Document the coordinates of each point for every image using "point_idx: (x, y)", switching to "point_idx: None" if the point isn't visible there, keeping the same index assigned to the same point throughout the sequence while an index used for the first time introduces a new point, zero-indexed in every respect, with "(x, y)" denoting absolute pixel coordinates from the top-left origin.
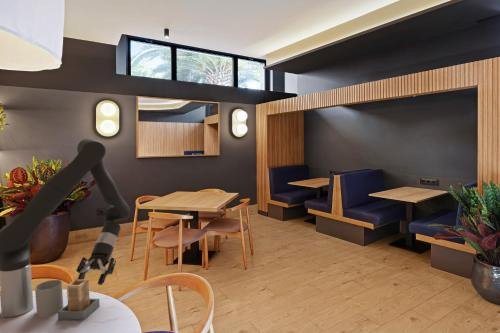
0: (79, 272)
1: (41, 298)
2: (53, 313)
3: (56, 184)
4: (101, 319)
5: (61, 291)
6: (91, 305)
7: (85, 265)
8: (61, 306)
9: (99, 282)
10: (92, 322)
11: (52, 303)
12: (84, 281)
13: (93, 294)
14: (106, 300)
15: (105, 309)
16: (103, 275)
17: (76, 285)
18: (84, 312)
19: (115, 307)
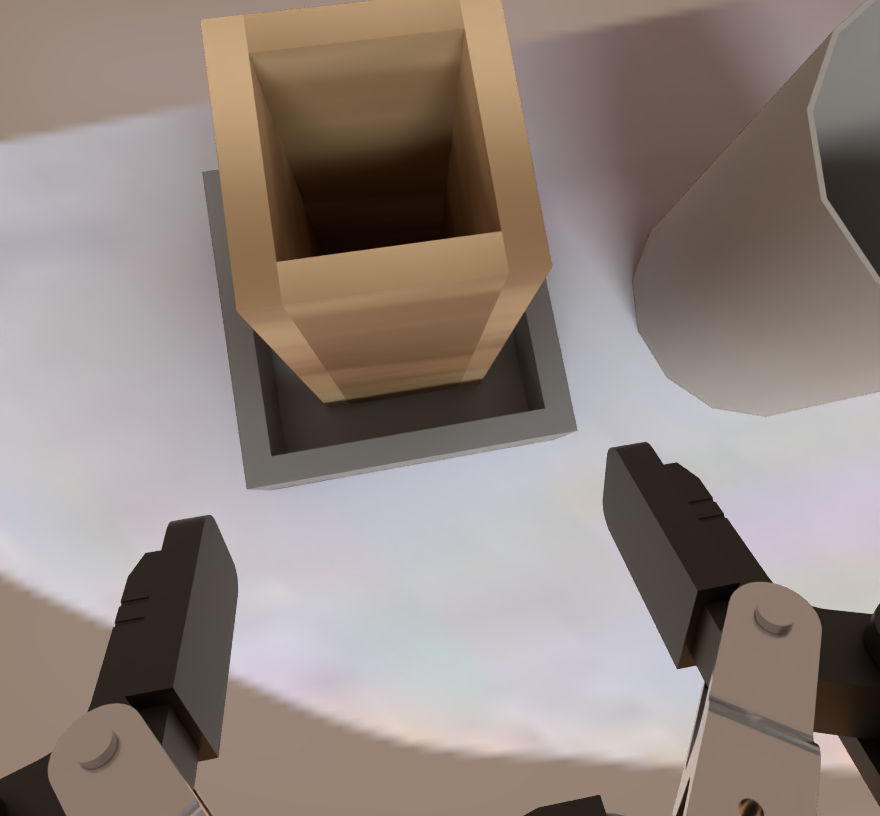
0: (820, 614)
1: (836, 66)
2: (647, 244)
3: None
4: (59, 277)
5: (757, 295)
6: (225, 327)
7: (818, 791)
8: (653, 324)
9: (170, 529)
10: (116, 214)
11: (696, 186)
12: (262, 217)
13: (569, 717)
14: (287, 628)
15: (153, 450)
16: (116, 684)
17: (282, 21)
18: (210, 202)
19: (61, 515)
